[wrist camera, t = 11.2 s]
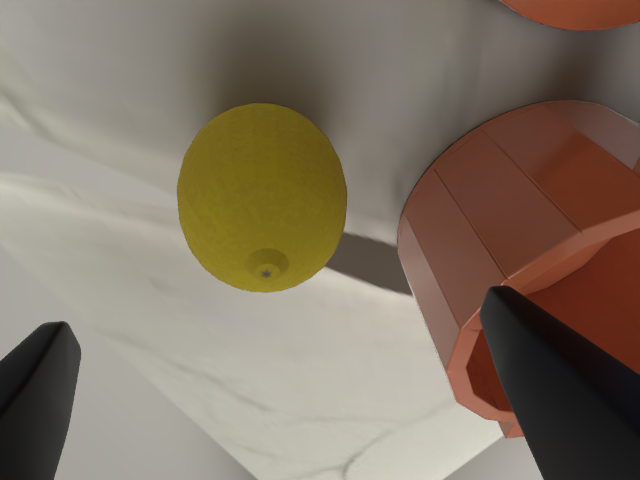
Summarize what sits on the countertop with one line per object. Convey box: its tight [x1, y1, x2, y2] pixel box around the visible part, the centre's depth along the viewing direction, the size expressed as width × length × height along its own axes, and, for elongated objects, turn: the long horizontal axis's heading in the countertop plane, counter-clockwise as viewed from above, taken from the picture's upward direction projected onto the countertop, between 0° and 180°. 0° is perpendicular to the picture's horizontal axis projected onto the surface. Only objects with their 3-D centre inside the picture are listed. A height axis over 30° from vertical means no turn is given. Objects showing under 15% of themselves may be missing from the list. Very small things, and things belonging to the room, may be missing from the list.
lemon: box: [177, 103, 347, 292], centre depth 15 cm, size 6×6×8 cm
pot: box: [397, 100, 640, 438], centre depth 19 cm, size 13×18×8 cm
